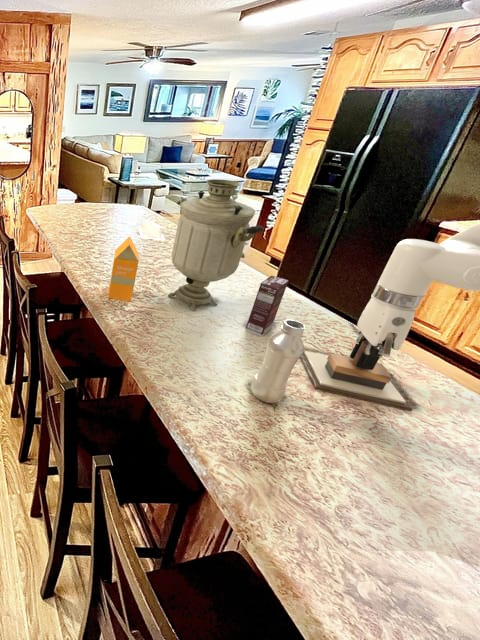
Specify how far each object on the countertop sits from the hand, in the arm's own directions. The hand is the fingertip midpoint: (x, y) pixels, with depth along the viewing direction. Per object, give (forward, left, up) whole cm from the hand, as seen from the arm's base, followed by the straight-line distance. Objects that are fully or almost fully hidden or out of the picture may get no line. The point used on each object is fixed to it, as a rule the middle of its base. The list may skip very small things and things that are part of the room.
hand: (360, 362), depth 92 cm
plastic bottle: (+21, +14, -6) cm, 26 cm away
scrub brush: (0, 0, -5) cm, 5 cm away
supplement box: (+17, -19, -6) cm, 26 cm away
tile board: (0, -2, -6) cm, 6 cm away
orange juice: (+58, -25, -6) cm, 63 cm away
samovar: (+32, -31, -6) cm, 45 cm away
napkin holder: (+51, -97, -6) cm, 109 cm away
